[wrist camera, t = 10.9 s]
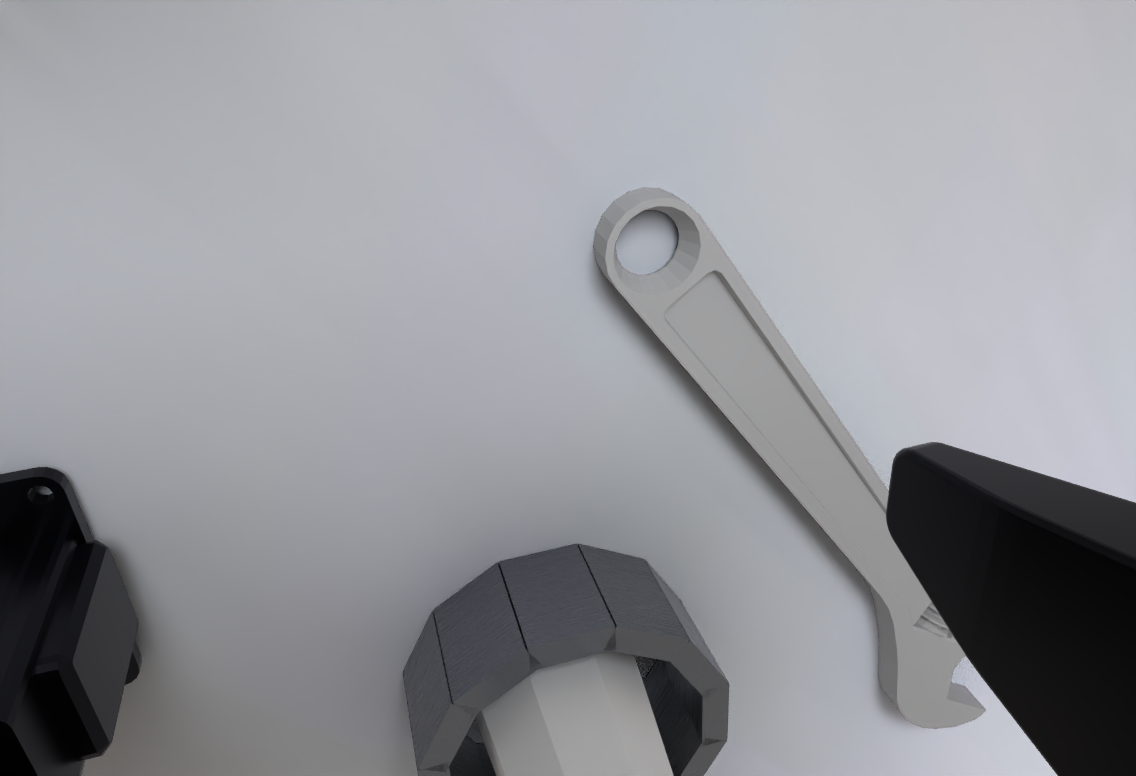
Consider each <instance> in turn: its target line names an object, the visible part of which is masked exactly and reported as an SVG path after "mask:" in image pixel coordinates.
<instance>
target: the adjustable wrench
mask: <svg viewBox="0 0 1136 776" xmlns="http://www.w3.org/2000/svg"><path fill="white" fill-rule="evenodd" d="M645 210H658V211H661V212H663V213H666V214H667V215H668V216H669V217H671V218H672V219H673V220H674V222H675V224H676V226H677V228H678V233H679V240H678V246H677V248H676V250H675V252H674V254H673V256H672V258H671V259H670V260H669V261H668V262H667V263H666V265H665V266H663V267H662V268H660V269H659V270H657V271H656V272H654V273H651V274H647V275H637V274H634V273H631V272H629V271H628V270H626V269H625V268H624V267H623V266H622V265H621V263H620V262H619V260H618V258H617V254H616V249H615V245H616V240H617V238H618V236H619V234H620V232H621V230H622V228H623V227H624V226H625V225H626V224H627V223H628V221H629V220H630V219H631V218H632V217H634V216H635V215H637V214H638V213H640V212H642V211H645ZM593 247H594V253H595V258H596V262H597V264H598V266H599V267H600V269H601V271H602V272H603V274H604V275H605V277H606V278H607V279H608V280H609V281H610V282H611V284H612V285H613V286H614V287H615V288H616V289H617V291H618V292H619V293H620V294H621V295H622V296H623V298H624V299H625V300H626V301H627V302H628V303H629V304H630V306H631V307H632V308H633V309H634V310H635V311H636V313H637V314H638V315H639V316H640V317H641V318H642V320H643V321H644V322H645V323H646V324H647V325H648V327H649V328H650V329H651V330H652V331H653V332H654V334H655V335H656V336H657V337H658V338H659V339H660V341H661V342H662V343H663V344H664V345H665V346H666V348H667V349H668V350H669V351H670V352H671V353H672V355H673V356H674V357H675V358H676V359H677V360H678V361H679V363H680V364H681V365H682V366H683V367H684V368H685V370H686V371H687V372H688V373H689V374H690V375H691V377H692V378H693V379H694V380H695V381H696V382H697V384H698V385H699V386H700V387H701V388H702V389H703V391H704V392H705V393H706V394H707V395H708V396H709V398H710V399H711V400H712V401H713V402H714V403H715V405H716V406H717V407H718V408H719V409H720V410H721V412H722V413H723V414H724V415H725V416H726V417H727V418H728V420H729V421H730V422H731V423H732V424H733V425H734V427H735V428H736V429H737V430H738V431H739V432H740V434H741V435H742V436H743V437H744V438H745V439H746V441H747V442H748V443H749V444H750V445H751V446H752V448H753V449H754V450H755V451H756V452H757V453H758V455H759V456H760V457H761V458H762V459H763V460H764V462H765V463H766V464H767V465H768V466H769V467H770V469H771V470H772V471H773V472H774V473H775V474H776V475H777V477H778V478H779V479H780V480H781V481H782V482H783V484H784V485H785V486H786V487H787V488H788V489H789V491H790V492H791V493H792V494H793V495H794V496H795V498H796V499H797V500H798V501H799V502H800V503H801V505H802V506H803V507H804V508H805V509H806V510H807V512H808V513H809V514H810V515H811V516H812V517H813V519H814V520H815V521H816V522H817V523H818V524H819V526H820V527H821V528H822V529H823V530H824V531H825V532H826V534H827V535H828V536H829V537H830V538H831V539H832V541H833V542H834V543H835V544H836V545H837V546H838V548H839V549H840V550H841V551H842V552H843V553H844V555H845V556H846V557H847V558H848V559H849V560H850V562H851V563H852V564H853V565H854V566H855V567H856V569H857V570H858V571H859V572H860V573H861V574H862V576H863V577H864V579H865V581H866V582H867V584H868V585H869V587H870V590H871V593H872V596H873V600H874V604H875V611H876V618H877V625H878V638H879V650H878V678H879V682H880V685H881V687H882V689H883V690H884V691H885V693H886V694H887V696H888V697H889V698H890V699H891V701H892V702H893V703H894V705H895V706H896V707H897V708H898V710H899V711H900V712H901V714H902V715H903V716H904V717H905V719H906V720H908V721H909V722H910V723H912V724H915V725H917V726H920V727H923V728H932V729H938V728H948V727H955V726H958V725H961V724H964V723H967V722H969V721H972V720H975V719H976V718H978V717H979V716H981V715H982V714H983V713H984V712H985V711H986V709H985V708H984V707H983V706H982V705H981V704H980V702H979V701H978V700H977V699H976V698H975V697H974V696H973V695H972V693H971V692H970V691H969V690H968V689H967V688H966V687H965V686H963V685H959V684H956V683H952V682H951V679H952V675H953V671H954V668H955V667H956V666H957V665H958V664H959V662H960V661H961V660H962V659H963V658H964V657H965V653H964V652H963V650H962V649H961V647H960V646H959V644H958V643H957V641H956V640H955V638H954V637H953V635H952V633H951V632H950V630H949V629H948V627H947V625H946V624H945V622H944V621H943V619H942V617H941V616H940V614H939V613H938V611H937V609H936V608H935V606H934V605H933V603H932V601H931V600H930V598H929V597H928V595H927V593H926V592H925V590H924V589H923V587H922V585H921V584H920V582H919V581H918V579H917V577H916V576H915V574H914V573H913V571H912V569H911V568H910V566H909V565H908V563H907V561H906V560H905V558H904V557H903V555H902V553H901V552H900V550H899V549H898V547H897V545H896V544H895V542H894V541H893V539H892V537H891V535H890V532H889V530H888V526H887V522H886V508H887V501H888V493H889V491H888V489H887V488H886V486H885V485H884V483H883V482H882V481H881V479H880V478H879V476H878V475H877V473H876V472H875V470H874V469H873V467H872V466H871V464H870V463H869V462H868V460H867V459H866V457H865V456H864V454H863V453H862V451H861V450H860V448H859V447H858V445H857V444H856V443H855V441H854V440H853V438H852V437H851V435H850V434H849V432H848V431H847V429H846V428H845V427H844V425H843V424H842V422H841V421H840V419H839V418H838V416H837V415H836V413H835V412H834V410H833V409H832V408H831V406H830V405H829V403H828V402H827V400H826V399H825V397H824V396H823V394H822V393H821V391H820V390H819V389H818V387H817V386H816V384H815V383H814V381H813V380H812V378H811V377H810V375H809V374H808V372H807V371H806V370H805V368H804V367H803V365H802V364H801V362H800V361H799V359H798V358H797V356H796V355H795V353H794V352H793V351H792V349H791V348H790V346H789V345H788V343H787V342H786V340H785V339H784V337H783V336H782V334H781V333H780V332H779V330H778V329H777V327H776V326H775V324H774V323H773V321H772V320H771V318H770V317H769V315H768V314H767V313H766V311H765V310H764V308H763V307H762V305H761V304H760V302H759V301H758V299H757V298H756V297H755V295H754V294H753V292H752V291H751V289H750V288H749V286H748V285H747V283H746V282H745V280H744V279H743V278H742V276H741V275H740V273H739V272H738V270H737V269H736V267H735V266H734V264H733V263H732V261H731V260H730V259H729V257H728V256H727V254H726V253H725V251H724V250H723V248H722V247H721V245H720V244H719V242H718V241H717V240H716V238H715V237H714V235H713V234H712V232H711V231H710V229H709V228H708V226H707V225H706V223H705V222H704V221H703V219H702V218H701V216H700V215H699V214H698V213H697V212H696V211H695V210H694V209H693V208H692V207H691V206H690V205H689V204H687V203H686V202H684V201H683V200H681V199H680V198H678V197H677V196H675V195H674V194H672V193H670V192H667V191H665V190H662V189H660V188H644V187H643V188H640V189H636V190H633V191H629V192H627V193H625V194H624V195H622V196H621V197H619V198H618V199H616V200H615V201H613V202H612V204H611V205H610V206H609V207H608V208H607V210H606V211H605V212H604V213H603V214H602V216H601V219H600V221H599V223H598V225H597V227H596V230H595V237H594V245H593Z"/></svg>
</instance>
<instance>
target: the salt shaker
mask: <svg viewBox="0 0 1136 776" xmlns="http://www.w3.org/2000/svg"><path fill="white" fill-rule="evenodd" d="M475 720H476V722H477V725H478V728H479V731H480V733H481V736H482V739H483V741H484V744H485V747H486V749H487V752H488V755H489V757H490V760H491V763H492V765H493V768H494V771H495V773H496V776H674V775H673V772H672V769H671V766H670V763H669V760H668V757H667V754H666V751H665V748H664V745H663V742H662V739H661V736H660V732H659V729H658V726H657V723H656V720H655V717H654V714H653V711H652V708H651V705H650V702H649V699H648V696H647V693H646V690H645V687H644V684H643V681H642V678H641V674H640V671H639V668H638V665H637V662H636V659H635V656H634V655H631V654H625V653H619V652H614V651H607V652H603V653H599V654H595V655H591V656H588V657H584V658H580V659H576V660H572V661H569V662H565V663H561V664H557V665H553V666H549V667H546V668H542V669H538V670H536V671H535V672H534V673H532V674H531V675H529V676H528V677H527V678H525V679H524V680H523V681H521V682H520V683H518V684H517V685H516V686H514V687H513V688H512V689H510V690H509V691H507V692H506V693H505V694H503V695H502V696H501V697H499V698H498V699H496V700H495V701H494V702H492V703H491V704H490V705H488V706H487V707H485V708H484V709H483V710H481V711H480V712H479V713H477V715H476V717H475Z"/></svg>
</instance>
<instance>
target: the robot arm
mask: <svg viewBox="0 0 1136 776" xmlns="http://www.w3.org/2000/svg"><path fill="white" fill-rule="evenodd" d="M35 486H45V487H47V488H49V489H50V490H51V491H52V492H53V494H50V495H41V494H39V493H36V492H35V490H34V489H33V487H35ZM886 522H887V526H888V530H889V532H890V535H891V537H892V539H893V541H894V542H895V544H896V545H897V547H898V549H899V550H900V552H901V553H902V555H903V557H904V558H905V560H906V561H907V563H908V565H909V566H910V568H911V569H912V571H913V573H914V574H915V576H916V577H917V579H918V581H919V582H920V584H921V585H922V587H923V589H924V590H925V592H926V593H927V595H928V597H929V598H930V600H931V601H932V603H933V605H934V606H935V608H936V609H937V611H938V613H939V614H940V616H941V617H942V619H943V621H944V622H945V624H946V625H947V627H948V629H949V630H950V632H951V633H952V635H953V637H954V638H955V640H956V641H957V643H958V644H959V646H960V647H961V649H962V650H963V652H964V653H965V655H966V656H967V658H968V659H969V660H970V662H971V663H972V665H973V666H974V667H975V669H976V670H977V671H978V673H979V674H980V675H981V677H982V678H983V679H984V681H985V682H986V683H987V685H988V686H989V687H990V689H991V690H992V691H993V692H994V694H995V695H996V696H997V698H998V699H999V700H1000V701H1001V703H1002V704H1003V705H1004V707H1005V708H1006V709H1007V711H1008V712H1009V713H1010V714H1011V716H1012V717H1013V718H1014V720H1015V721H1016V722H1017V723H1018V725H1019V726H1020V727H1021V729H1022V730H1023V731H1024V733H1025V734H1026V735H1027V736H1028V738H1029V739H1030V740H1031V742H1032V743H1033V744H1034V745H1035V747H1036V748H1037V749H1038V751H1039V752H1040V753H1041V755H1042V756H1043V757H1044V758H1045V760H1046V761H1047V762H1048V764H1049V765H1050V766H1051V767H1052V769H1053V770H1054V771H1055V773H1056V774H1057V775H1058V776H1136V503H1135V502H1131V501H1128V500H1125V499H1122V498H1118V497H1115V496H1112V495H1109V494H1105V493H1102V492H1099V491H1096V490H1092V489H1089V488H1086V487H1083V486H1079V485H1076V484H1073V483H1070V482H1066V481H1063V480H1060V479H1057V478H1053V477H1050V476H1047V475H1044V474H1040V473H1037V472H1034V471H1031V470H1027V469H1024V468H1021V467H1017V466H1014V465H1011V464H1008V463H1004V462H1001V461H998V460H995V459H991V458H988V457H985V456H982V455H978V454H975V453H972V452H969V451H965V450H962V449H959V448H956V447H952V446H949V445H946V444H943V443H939V442H930V443H925V444H921V445H917V446H912V447H908V448H904V449H902V450H900V451H899V452H898V453H897V454H896V456H895V458H894V460H893V464H892V471H891V479H890V486H889V493H888V501H887V508H886ZM137 627H138V619H137V617H136V614H135V612H134V609H133V607H132V604H131V602H130V600H129V597H128V595H127V592H126V590H125V587H124V585H123V582H122V580H121V577H120V575H119V572H118V570H117V568H116V565H115V563H114V560H113V558H112V555H111V553H110V550H109V548H108V547H107V546H105V545H103V544H102V543H100V542H99V541H93V539H92V536H91V534H90V531H89V529H88V527H87V524H86V522H85V519H84V517H83V515H82V512H81V510H80V507H79V505H78V502H77V500H76V498H75V495H74V493H73V490H72V488H71V486H70V483H69V481H68V480H67V478H66V477H65V475H64V474H62V473H61V472H59V471H58V470H56V469H52V468H48V467H38V468H32V469H27V470H21V471H16V472H11V473H6V474H0V776H81V774H82V770H83V766H84V762H85V760H86V759H90V758H94V757H98V756H102V755H103V754H104V753H105V751H106V750H107V749H108V747H109V746H110V744H111V743H112V739H113V735H114V730H115V726H116V721H117V717H118V712H119V708H120V703H121V699H122V694H123V690H124V685H126V684H128V683H131V682H132V681H133V680H135V679H136V678H137V676H138V674H139V671H140V666H141V661H142V660H141V654H140V652H139V649H138V647H137V645H136V642H135V636H136V632H137Z"/></svg>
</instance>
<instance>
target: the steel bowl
mask: <svg viewBox="0 0 1136 776" xmlns="http://www.w3.org/2000/svg"><path fill="white" fill-rule="evenodd" d="M499 564H500V565H499ZM499 564H498V563H496V564H495V565H494V566H492V567H491V568H490V569H488V570H487V571H486V572H484V573H483V574H482V575H480V576H479V577H477V578H476V579H475V580H473V581H472V582H471V583H469V584H468V585H467V586H465V587H464V588H463V589H461V590H460V591H459V592H457V593H456V594H454V595H453V596H452V597H450V598H449V599H448V600H446V601H445V602H444V603H442V604H441V605H440V606H438V607H437V608H436V609H434V612H433V611H432V613H431V615H430V617H429V619H428V621H427V623H426V625H425V627H424V630H423V632H422V634H421V636H420V638H419V640H418V642H417V644H416V646H415V648H414V650H413V652H412V654H411V656H410V658H409V660H408V662H407V664H406V667H405V669H404V671H403V677H404V684H405V691H406V697H407V704H408V711H409V718H410V724H411V731H412V738H413V744H414V751H415V758H416V764H417V771H418V775H419V776H496V773H495V771H494V768H493V765H492V763H491V760H490V757H489V755H488V752H487V749H486V747H485V745H482V744H476V743H475V742H474V741H472V740H471V739H470V738H468V737H467V736H466V734H467V732H468V730H469V728H470V726H471V725H472V723H473V721H474V719H475V717H476V715H477V713H479V712H480V711H481V710H483V709H484V708H485V707H487V706H488V705H490V704H491V703H492V702H494V701H495V700H496V699H498V698H499V697H501V696H502V695H503V694H505V693H506V692H507V691H509V690H510V689H512V688H513V687H514V686H516V685H517V684H518V683H520V682H521V681H523V680H524V679H525V678H527V677H528V676H529V675H531V674H532V673H534V672H535V671H536V670H538V669H542V668H546V667H549V666H553V665H557V664H561V663H565V662H569V661H572V660H576V659H580V658H584V657H588V656H591V655H595V654H599V653H603V652H607V651H614V652H619V653H625V654H631V655H636V656H642V657H648V658H653V659H657V661H656V662H655V664H654V666H653V667H652V669H651V671H650V672H649V674H648V675H647V677H646V679H645V680H644V682H643V684H644V687H645V690H646V693H647V696H648V699H649V702H650V705H651V708H652V711H653V714H654V717H655V720H656V723H657V726H658V729H659V732H660V736H661V739H662V742H663V745H664V748H665V751H666V754H667V757H668V760H669V763H670V766H671V769H672V772H673V775H674V776H704V774H705V773H706V771H707V770H708V768H709V767H710V765H711V764H712V762H713V761H714V759H715V758H716V756H717V755H718V753H719V752H720V750H721V749H722V747H723V746H724V744H725V743H726V741H727V732H728V702H729V682H728V681H727V679H726V677H725V675H724V674H723V672H722V670H721V669H720V667H719V665H718V663H717V662H716V660H715V658H714V657H713V655H712V653H711V651H710V650H709V648H708V646H707V645H706V643H705V641H704V639H703V638H702V636H701V634H700V633H699V631H698V629H697V627H696V626H695V624H694V622H693V621H692V619H691V617H690V615H689V614H688V612H687V610H686V609H685V607H684V605H683V603H682V602H681V600H680V599H679V598H678V597H677V596H676V595H675V593H674V592H673V591H672V590H671V589H670V588H669V587H668V585H667V584H666V583H665V582H664V581H663V580H662V579H661V577H660V576H659V575H658V574H657V573H656V572H655V571H654V569H653V568H652V567H651V566H650V565H649V564H648V563H647V561H646V560H644V559H641V558H637V557H632V556H628V555H624V554H620V553H615V552H611V551H607V550H602V549H598V548H594V547H590V546H585V545H581V544H578V546H577V544H574V545H570V546H566V547H561V548H557V549H553V550H548V551H544V552H540V553H536V554H531V555H527V556H523V557H518V558H514V559H510V560H506V561H501V562H499Z"/></svg>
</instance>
